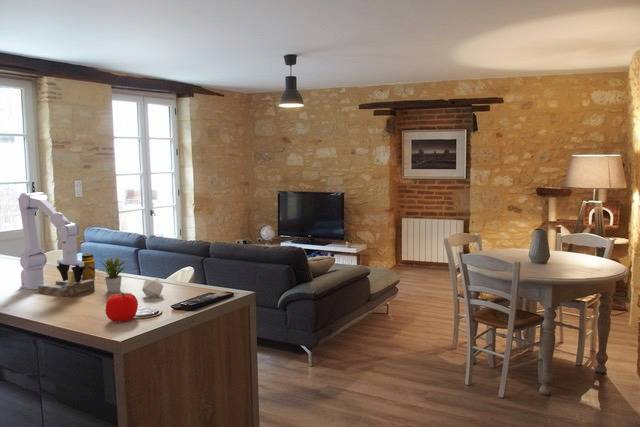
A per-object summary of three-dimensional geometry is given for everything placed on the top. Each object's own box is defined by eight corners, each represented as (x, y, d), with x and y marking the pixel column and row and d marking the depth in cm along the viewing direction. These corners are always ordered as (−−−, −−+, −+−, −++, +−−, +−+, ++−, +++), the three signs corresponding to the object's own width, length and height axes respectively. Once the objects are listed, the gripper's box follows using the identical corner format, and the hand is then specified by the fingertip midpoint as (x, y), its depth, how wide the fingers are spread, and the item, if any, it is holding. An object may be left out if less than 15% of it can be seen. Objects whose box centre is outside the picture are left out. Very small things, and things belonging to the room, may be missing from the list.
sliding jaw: (61, 290, 232) (60, 272, 231) (74, 286, 238) (73, 269, 237) (69, 291, 230) (68, 273, 229) (82, 287, 236) (81, 270, 235)
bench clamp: (37, 292, 235) (36, 281, 234) (60, 286, 246) (59, 275, 245) (72, 297, 226) (71, 286, 225) (94, 291, 236) (94, 280, 236)
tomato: (122, 327, 186) (121, 298, 185) (98, 323, 191) (97, 295, 189) (146, 317, 197) (145, 290, 196) (123, 314, 201) (121, 287, 200)
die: (162, 294, 232) (148, 277, 231) (170, 288, 226) (156, 270, 226) (148, 305, 226) (134, 287, 225) (156, 298, 220) (142, 280, 220)
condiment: (97, 279, 260) (96, 255, 258) (78, 281, 255) (77, 257, 254) (94, 276, 266) (93, 252, 264) (76, 278, 261) (74, 254, 260)
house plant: (128, 294, 230) (127, 257, 228) (95, 296, 227) (92, 259, 225) (133, 286, 244) (131, 251, 242) (101, 288, 241) (99, 253, 239)
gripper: (50, 251, 231) (52, 281, 233) (73, 253, 225) (75, 284, 227) (64, 248, 238) (66, 278, 239) (87, 250, 232) (89, 281, 233)
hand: (71, 281), depth 233 cm, fingers open, 7 cm apart
